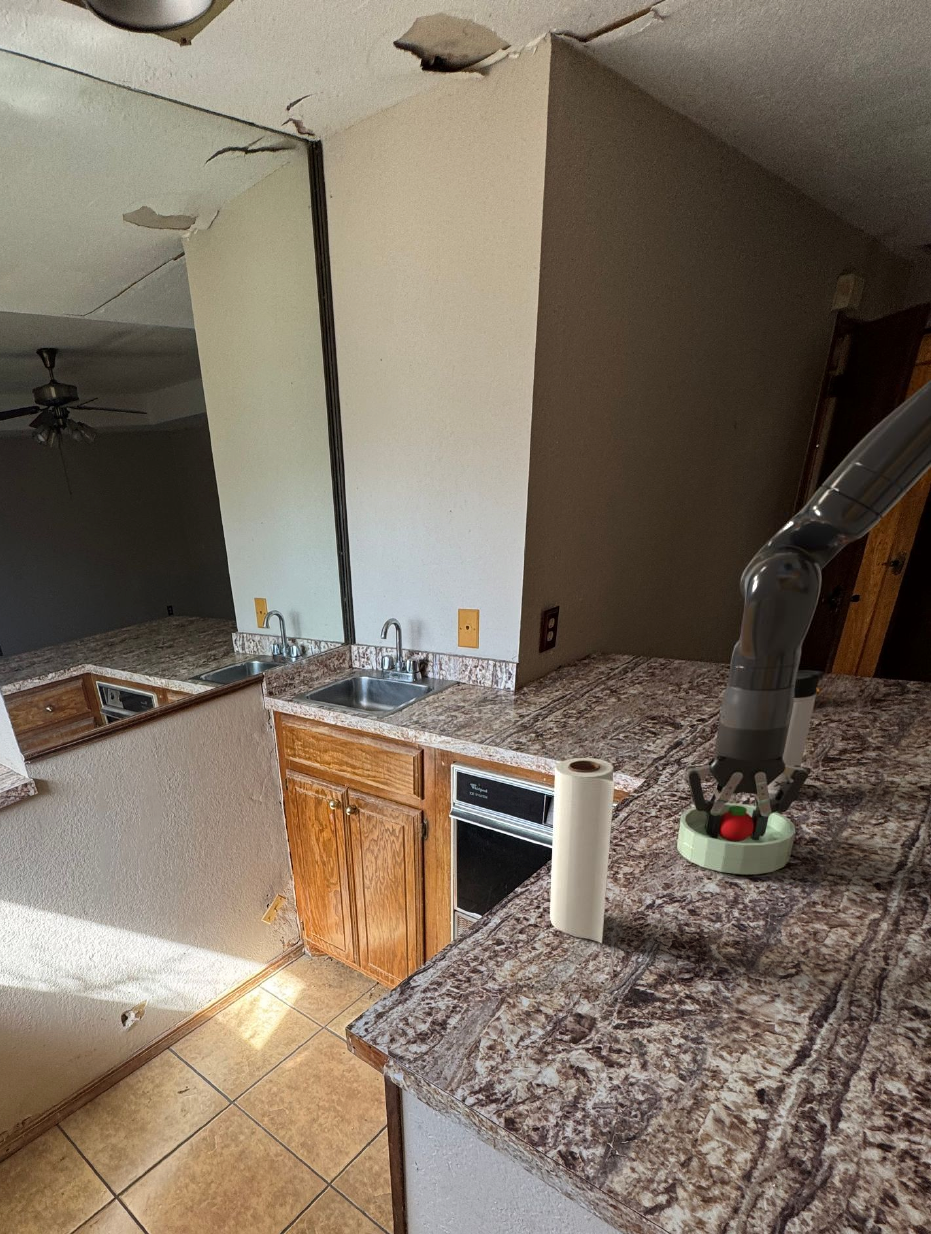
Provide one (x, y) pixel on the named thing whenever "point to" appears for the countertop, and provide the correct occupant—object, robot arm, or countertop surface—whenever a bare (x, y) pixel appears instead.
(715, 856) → the bowl
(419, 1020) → the countertop surface
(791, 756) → the travel mug
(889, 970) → the countertop surface
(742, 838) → the red tomato
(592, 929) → the paper towel roll
